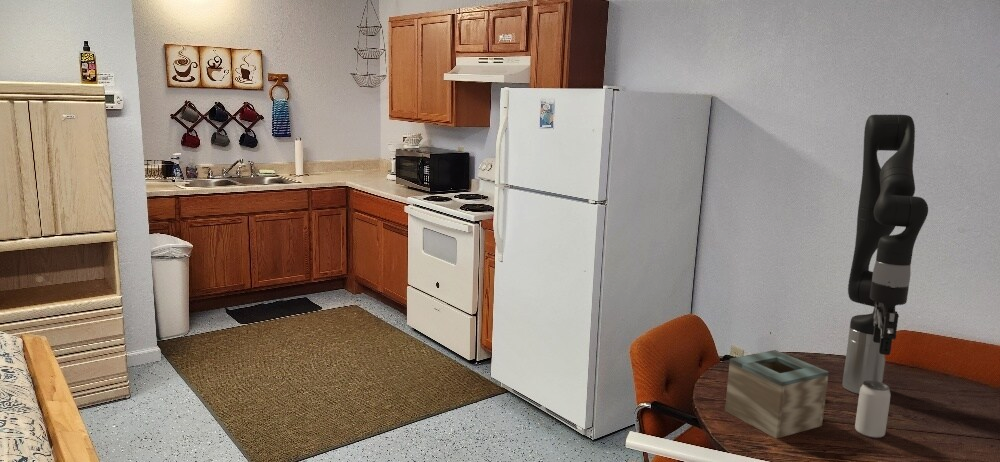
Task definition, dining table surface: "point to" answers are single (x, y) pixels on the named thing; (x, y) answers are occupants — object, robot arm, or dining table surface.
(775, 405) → the drop box
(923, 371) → the dining table surface
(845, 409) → the dining table surface
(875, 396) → the can
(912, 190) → the robot arm
